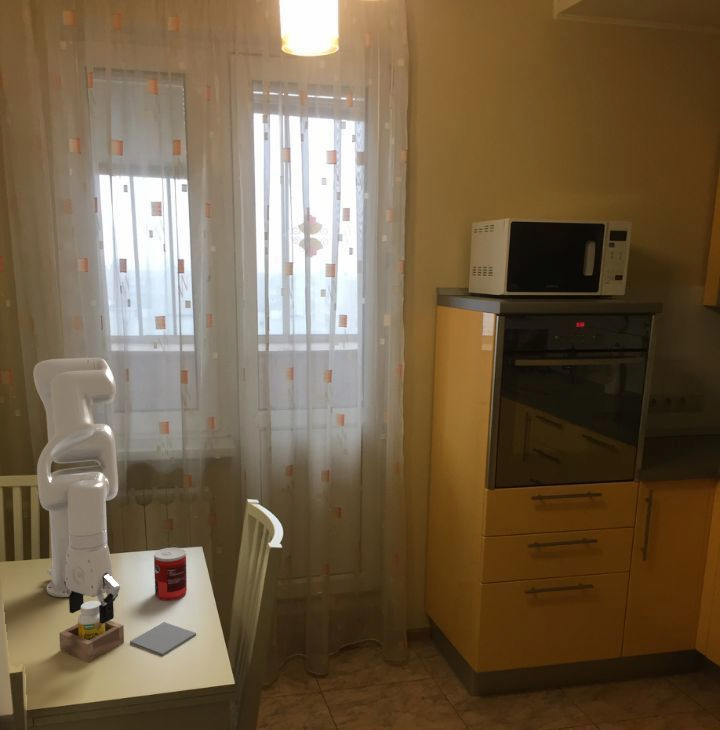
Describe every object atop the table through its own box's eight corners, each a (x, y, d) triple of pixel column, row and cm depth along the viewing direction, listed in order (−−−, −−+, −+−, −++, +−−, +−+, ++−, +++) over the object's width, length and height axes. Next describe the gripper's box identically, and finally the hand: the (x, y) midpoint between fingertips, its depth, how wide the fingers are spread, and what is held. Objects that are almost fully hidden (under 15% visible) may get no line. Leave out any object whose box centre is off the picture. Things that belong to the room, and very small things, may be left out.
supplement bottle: (102, 637, 147) (101, 596, 146) (108, 648, 143) (106, 606, 142) (76, 644, 144) (75, 602, 143) (81, 656, 140) (80, 612, 139)
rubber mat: (129, 643, 145) (129, 641, 145) (164, 624, 154) (164, 621, 154) (162, 655, 140) (162, 653, 140) (196, 635, 149) (196, 633, 149)
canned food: (163, 586, 173) (162, 546, 172) (191, 588, 172) (191, 548, 171) (149, 599, 166) (148, 557, 165) (179, 602, 165) (178, 559, 163)
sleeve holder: (60, 650, 142) (59, 633, 141) (96, 631, 150) (95, 615, 149) (88, 662, 137) (87, 644, 137) (124, 642, 145) (123, 625, 145)
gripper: (46, 537, 142) (50, 613, 143) (101, 551, 133) (104, 632, 135) (77, 527, 148) (80, 600, 150) (130, 540, 140) (133, 617, 141)
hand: (91, 615), depth 142 cm, fingers open, 9 cm apart
